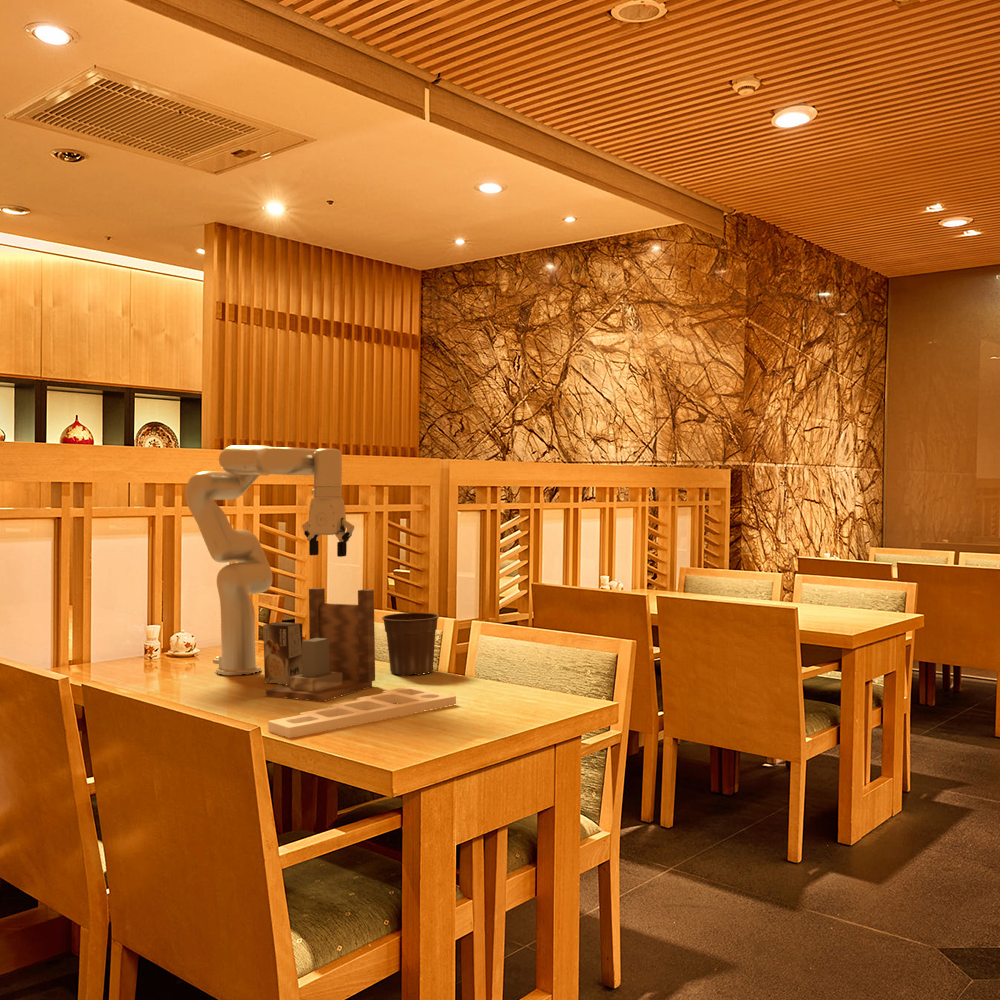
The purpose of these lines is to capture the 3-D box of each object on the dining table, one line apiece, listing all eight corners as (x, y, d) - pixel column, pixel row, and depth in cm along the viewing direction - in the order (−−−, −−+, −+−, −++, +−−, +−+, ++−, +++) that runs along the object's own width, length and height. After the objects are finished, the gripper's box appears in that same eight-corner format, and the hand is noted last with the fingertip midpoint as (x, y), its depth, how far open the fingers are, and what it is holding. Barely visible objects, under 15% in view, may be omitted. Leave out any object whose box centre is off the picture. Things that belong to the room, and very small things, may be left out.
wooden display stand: (264, 696, 247) (262, 595, 247) (317, 681, 266) (315, 588, 267) (325, 701, 239) (323, 597, 239) (375, 686, 258) (373, 589, 258)
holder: (288, 740, 202) (288, 727, 202) (247, 726, 215) (247, 714, 215) (456, 707, 232) (456, 696, 232) (411, 697, 246) (411, 686, 246)
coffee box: (305, 681, 266) (304, 622, 266) (289, 685, 261) (288, 625, 261) (278, 679, 271) (277, 621, 271) (263, 683, 265) (262, 624, 265)
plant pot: (421, 679, 267) (420, 620, 267) (372, 675, 274) (371, 618, 274) (450, 669, 282) (449, 613, 282) (402, 666, 289) (401, 611, 289)
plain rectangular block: (302, 687, 249) (301, 641, 249) (317, 683, 254) (316, 637, 254) (315, 689, 247) (314, 641, 247) (329, 684, 253) (328, 638, 253)
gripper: (294, 493, 269) (294, 555, 269) (344, 493, 260) (344, 557, 261) (312, 493, 275) (312, 554, 276) (361, 493, 267) (361, 556, 267)
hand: (327, 555), depth 268 cm, fingers open, 9 cm apart
